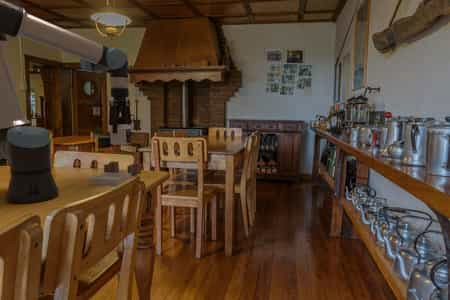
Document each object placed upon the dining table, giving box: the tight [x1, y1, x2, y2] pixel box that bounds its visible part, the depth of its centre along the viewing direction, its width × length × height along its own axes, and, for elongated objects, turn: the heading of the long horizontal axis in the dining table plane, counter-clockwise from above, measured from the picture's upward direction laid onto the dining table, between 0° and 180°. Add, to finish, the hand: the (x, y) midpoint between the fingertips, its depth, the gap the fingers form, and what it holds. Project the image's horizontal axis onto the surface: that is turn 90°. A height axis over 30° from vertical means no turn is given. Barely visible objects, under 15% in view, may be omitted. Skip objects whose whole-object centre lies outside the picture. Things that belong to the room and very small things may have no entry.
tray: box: [88, 172, 132, 186], centre depth 133 cm, size 12×12×2 cm
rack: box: [103, 160, 142, 178], centre depth 146 cm, size 10×12×5 cm
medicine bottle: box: [109, 116, 133, 146], centre depth 144 cm, size 7×7×12 cm
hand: (121, 139), depth 144 cm, fingers closed on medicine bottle, 8 cm apart
